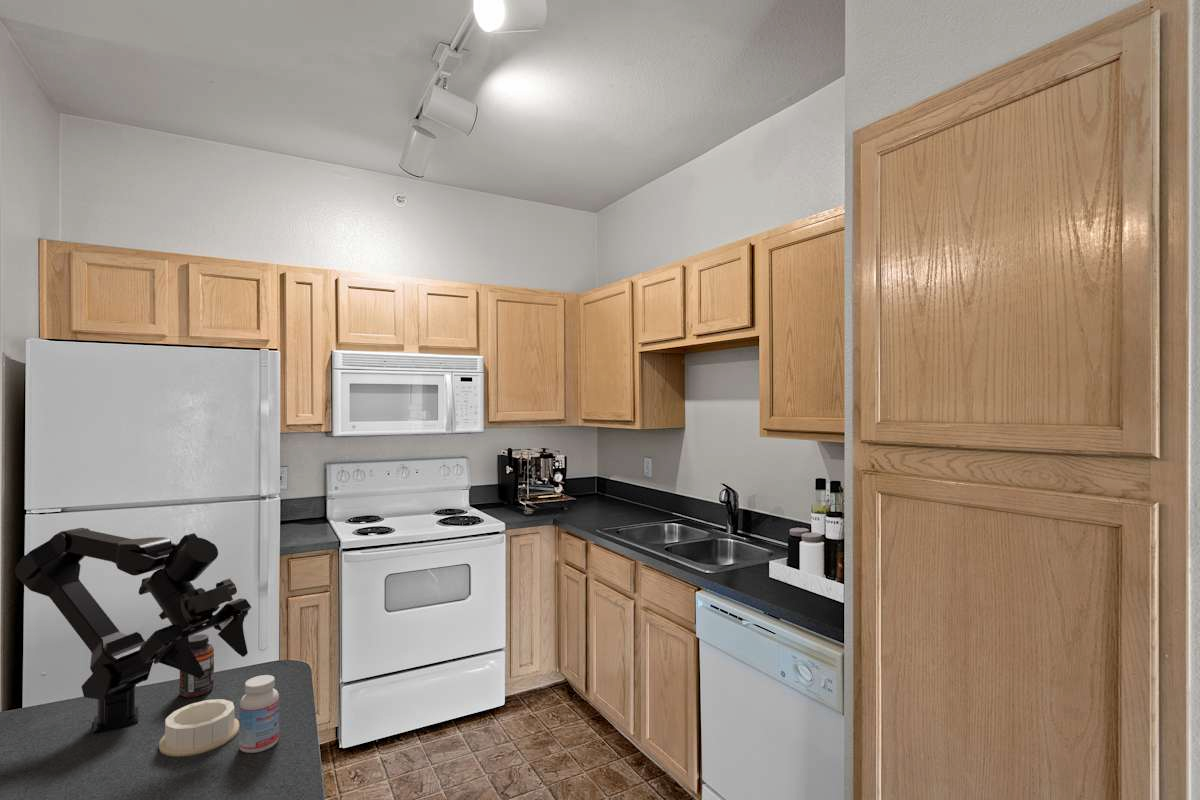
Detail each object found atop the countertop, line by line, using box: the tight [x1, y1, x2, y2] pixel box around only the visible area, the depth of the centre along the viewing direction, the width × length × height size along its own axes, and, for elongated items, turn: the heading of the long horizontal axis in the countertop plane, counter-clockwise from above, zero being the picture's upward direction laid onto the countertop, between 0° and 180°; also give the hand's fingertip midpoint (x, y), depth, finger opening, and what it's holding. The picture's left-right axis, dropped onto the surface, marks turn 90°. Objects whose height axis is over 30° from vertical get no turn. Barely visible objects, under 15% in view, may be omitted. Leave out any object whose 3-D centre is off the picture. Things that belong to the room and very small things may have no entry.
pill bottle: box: [238, 674, 280, 754], centre depth 107 cm, size 6×6×11 cm
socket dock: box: [158, 698, 240, 758], centre depth 109 cm, size 12×12×4 cm
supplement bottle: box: [178, 633, 215, 698], centre depth 126 cm, size 6×6×11 cm
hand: (224, 665), depth 109 cm, fingers open, 9 cm apart
